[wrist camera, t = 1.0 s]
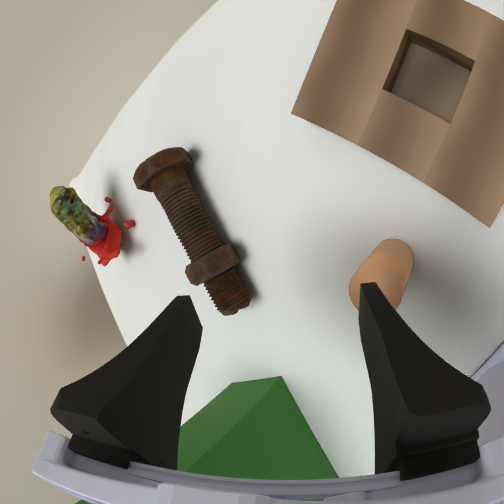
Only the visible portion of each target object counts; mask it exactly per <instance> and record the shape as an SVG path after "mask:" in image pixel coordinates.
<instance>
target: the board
mask: <svg viewBox="0 0 504 504" xmlns="http://www.w3.org/2000/svg"><path fill="white" fill-rule="evenodd" d="M291 114H293V115H296V116H298V117H300V118H302V119H305V120H307V121H309V122H311V123H313V124H316V125H318V126H320V127H322V128H324V129H326V130H328V131H331V132H333V133H335V134H337V135H339V136H341V137H343V138H345V139H347V140H349V141H351V142H353V143H355V144H357V145H358V146H360V147H362V148H364V149H366V150H368V151H370V152H372V153H374V154H375V155H377V156H379V157H381V158H383V159H384V160H386V161H388V162H390V163H392V164H393V165H395V166H397V167H398V168H400V169H402V170H404V171H405V172H407V173H409V174H410V175H412V176H414V177H415V178H417V179H419V180H420V181H422V182H423V183H425V184H427V185H428V186H430V187H431V188H433V189H434V190H436V191H438V192H439V193H441V194H442V195H444V196H445V197H447V198H448V199H450V200H451V201H453V202H454V203H456V204H457V205H458V206H460V207H461V208H463V209H464V210H466V211H467V212H468V213H470V214H471V215H473V216H474V217H475V218H477V219H478V220H479V221H481V222H482V223H484V224H485V225H486V226H488V227H489V228H490V227H491V225H492V223H493V221H494V220H495V218H496V216H497V214H498V212H499V211H500V209H501V207H502V205H503V203H504V21H503V20H501V19H500V18H498V17H496V16H494V15H492V14H490V13H489V12H487V11H485V10H483V9H481V8H479V7H477V6H475V5H473V4H470V3H468V2H466V1H464V0H337V1H336V4H335V6H334V9H333V11H332V13H331V16H330V18H329V21H328V23H327V26H326V28H325V30H324V33H323V35H322V38H321V40H320V43H319V45H318V48H317V50H316V52H315V55H314V57H313V60H312V62H311V65H310V67H309V70H308V72H307V75H306V77H305V80H304V82H303V85H302V87H301V90H300V92H299V95H298V97H297V100H296V102H295V105H294V107H293V110H292V112H291Z"/></svg>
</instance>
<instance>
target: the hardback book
mask: <svg viewBox="0 0 504 504" xmlns="http://www.w3.org/2000/svg"><path fill="white" fill-rule="evenodd" d="M177 471H183V472H189V473H196V474H203V475H211V476H220V477H230V478H243V479H261V480H317V479H335V478H339V477H338V475H337V473H336V472H335V470H334V468H333V467H332V465H331V463H330V462H329V460H328V458H327V456H326V455H325V453H324V451H323V449H322V448H321V446H320V444H319V443H318V441H317V439H316V437H315V436H314V434H313V432H312V430H311V429H310V427H309V425H308V423H307V421H306V420H305V418H304V416H303V414H302V413H301V411H300V409H299V407H298V405H297V404H296V402H295V400H294V398H293V396H292V395H291V393H290V391H289V389H288V387H287V386H286V384H285V382H284V380H283V378H282V377H281V376H279V377H273V378H266V379H259V380H252V381H245V382H237V383H231V384H230V385H229V386H228V387H227V388H226V389H224V390H223V391H222V392H221V393H220V394H219V395H218V396H216V397H215V398H214V399H213V400H212V401H211V402H209V403H208V404H207V405H206V406H205V407H204V408H202V409H201V410H200V411H199V412H198V413H196V414H195V415H194V416H193V417H192V418H190V419H189V420H188V421H187V422H186V423H184V424H183V425H182V426H181V427H180V433H179V444H178V459H177ZM323 500H324V499H313V500H299V501H323ZM76 504H92V503H89V502H87V501H85V500H80V501H79V502H77V503H76Z"/></svg>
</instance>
